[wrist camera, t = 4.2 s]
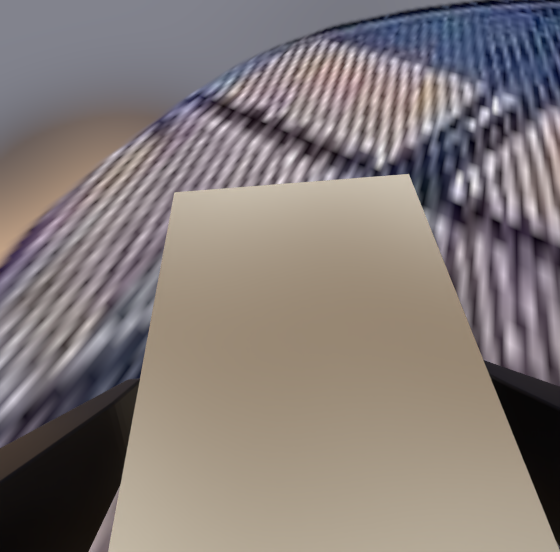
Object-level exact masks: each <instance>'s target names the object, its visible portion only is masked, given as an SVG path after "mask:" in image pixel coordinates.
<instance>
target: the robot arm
mask: <svg viewBox="0 0 560 552" xmlns="http://www.w3.org/2000/svg"><path fill="white" fill-rule="evenodd" d="M483 361H484V360H483ZM484 363H485V366H486V368H487V371H488V373H489V376H490V378H491V381H492V383H493V386H494V388H495V391H496V393H497V395H498V398H499V400H500V403H501V405H502V408H503V410H504V413H505V415H506V418H507V420H508V423H509V425H510V428H511V430H512V433H513V435H514V438H515V440H516V443H517V445H518V448H519V450H520V453H521V455H522V458H523V460H524V463H525V465H526V468H527V470H528V473H529V475H530V478H531V480H532V483H533V485H534V488H535V490H536V493H537V495H538V498H539V500H540V503H541V505H542V508H543V510H544V513H545V515H546V518H547V520H548V523H549V525H550V528H551V530H552V533H553V535H554V538H555V540H556V542H557V543H558V545H559V546H560V387H559V386H556V385H553V384H551V383H548V382H545V381H542V380H539V379H536V378H533V377H530V376H527V375H525V374H522V373H519V372H516V371H513V370H510V369H507V368H504V367H502V366H499V365H496V364H493V363H490V362H487V361H484ZM139 382H140V379H129V380H126V381H125V382H123V383H121V384H119V385H117V386H115V387H113V388H112V389H110V390H108V391H106V392H104V393H102V394H100V395H98V396H97V397H95V398H93V399H91V400H89V401H87V402H85V403H84V404H82V405H80V406H78V407H76V408H74V409H72V410H71V411H69V412H67V413H65V414H63V415H61V416H59V417H58V418H56V419H54V420H52V421H50V422H48V423H46V424H45V425H43V426H41V427H39V428H37V429H35V430H33V431H31V432H30V433H28V434H26V435H24V436H22V437H20V438H18V439H17V440H15V441H13V442H11V443H9V444H7V445H5V446H4V447H2V448H0V552H88V551H89V549H90V547H91V545H92V543H93V541H94V539H95V537H96V535H97V532H98V530H99V528H100V526H101V524H102V522H103V520H104V518H105V516H106V514H107V511H108V509H109V507H110V505H111V503H112V501H113V499H114V497H115V495H116V492H117V490H118V488H119V486H120V484H121V480H122V474H123V469H124V463H125V458H126V453H127V447H128V442H129V436H130V431H131V425H132V420H133V415H134V409H135V404H136V398H137V393H138V388H139Z"/></svg>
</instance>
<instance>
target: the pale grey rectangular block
mask: <svg viewBox="0 0 560 552" xmlns="http://www.w3.org/2000/svg"><path fill="white" fill-rule="evenodd" d="M108 552H560V550H559V548H558V545H557V543H556V540H555V538H554V535H553V533H552V530H551V528H550V525H549V523H548V520H547V518H546V515H545V513H544V510H543V508H542V505H541V503H540V500H539V498H538V495H537V493H536V490H535V488H534V485H533V483H532V480H531V478H530V475H529V473H528V470H527V468H526V465H525V463H524V460H523V458H522V455H521V453H520V450H519V448H518V445H517V443H516V440H515V438H514V435H513V433H512V430H511V428H510V425H509V423H508V420H507V418H506V415H505V413H504V410H503V408H502V405H501V403H500V400H499V398H498V395H497V393H496V391H495V388H494V386H493V383H492V381H491V378H490V376H489V373H488V371H487V368H486V366H485V363H484V361H483V358H482V356H481V353H480V351H479V348H478V346H477V343H476V341H475V338H474V336H473V333H472V331H471V328H470V326H469V323H468V321H467V318H466V316H465V313H464V311H463V308H462V306H461V303H460V301H459V298H458V296H457V293H456V291H455V288H454V286H453V283H452V281H451V278H450V276H449V273H448V271H447V268H446V266H445V263H444V261H443V258H442V256H441V253H440V251H439V248H438V246H437V243H436V241H435V238H434V236H433V234H432V231H431V229H430V226H429V224H428V221H427V219H426V216H425V214H424V211H423V209H422V206H421V204H420V201H419V199H418V196H417V194H416V191H415V189H414V186H413V184H412V181H411V179H410V176H409V174H404V175H391V176H378V177H366V178H353V179H340V180H327V181H315V182H302V183H289V184H276V185H264V186H251V187H238V188H225V189H213V190H200V191H187V192H175V193H174V198H173V203H172V209H171V214H170V220H169V225H168V230H167V236H166V241H165V247H164V252H163V258H162V263H161V268H160V274H159V279H158V285H157V290H156V295H155V301H154V306H153V312H152V317H151V323H150V328H149V333H148V339H147V344H146V350H145V355H144V360H143V366H142V371H141V377H140V382H139V388H138V393H137V398H136V404H135V409H134V415H133V420H132V425H131V431H130V436H129V442H128V447H127V453H126V458H125V463H124V469H123V474H122V480H121V485H120V490H119V496H118V501H117V507H116V512H115V518H114V523H113V528H112V534H111V539H110V545H109V550H108Z"/></svg>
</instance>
